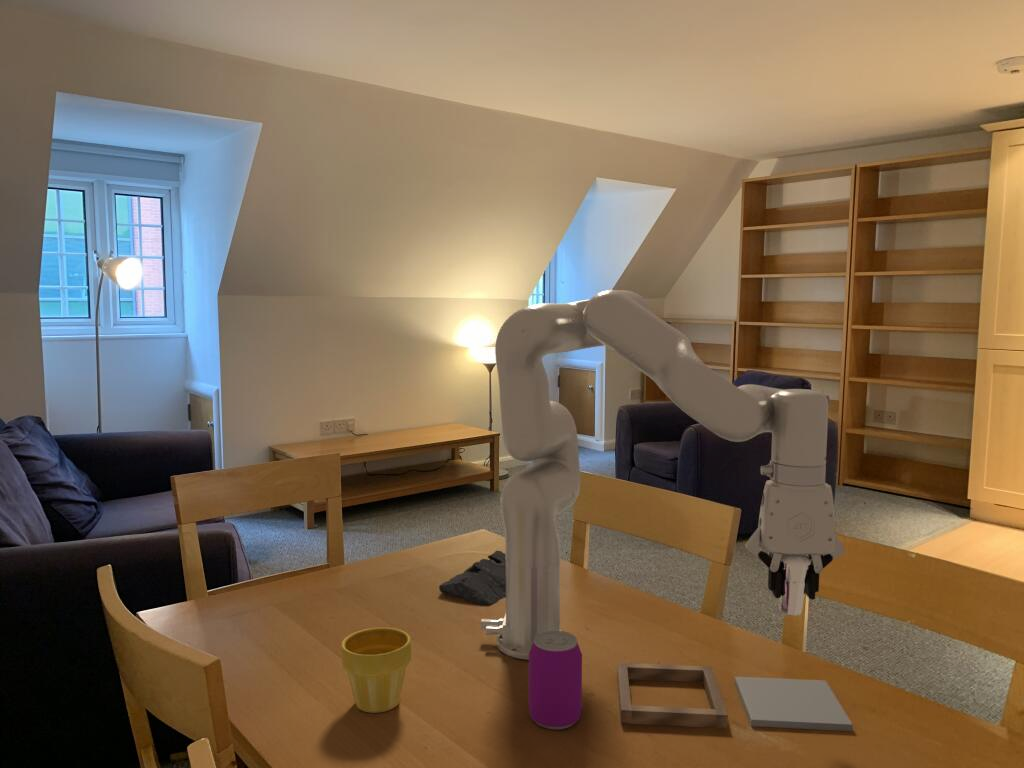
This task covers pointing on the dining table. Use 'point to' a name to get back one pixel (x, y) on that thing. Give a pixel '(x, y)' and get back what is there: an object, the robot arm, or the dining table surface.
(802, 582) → the milkshake
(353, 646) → the plant pot
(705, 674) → the walnut collar
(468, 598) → the dark slate chunk
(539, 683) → the beverage can
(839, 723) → the slate pad
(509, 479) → the robot arm
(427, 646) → the dining table surface
